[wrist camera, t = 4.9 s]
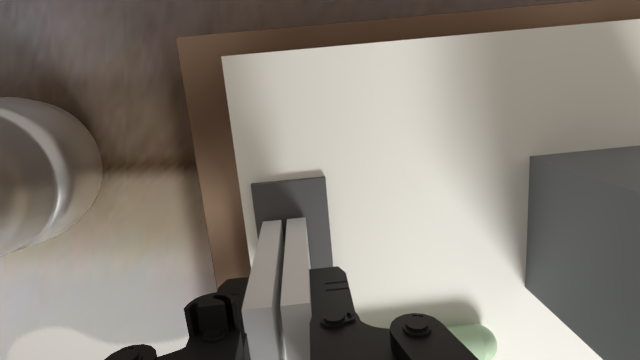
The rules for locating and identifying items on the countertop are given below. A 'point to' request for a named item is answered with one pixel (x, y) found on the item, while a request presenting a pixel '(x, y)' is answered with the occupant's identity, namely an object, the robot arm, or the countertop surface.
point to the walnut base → (206, 50)
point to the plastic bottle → (43, 172)
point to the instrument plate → (460, 180)
